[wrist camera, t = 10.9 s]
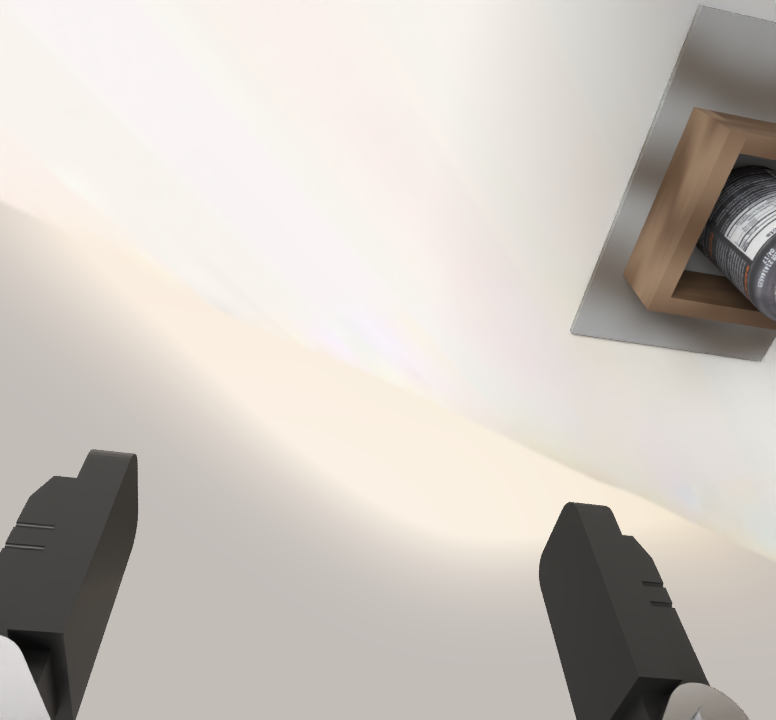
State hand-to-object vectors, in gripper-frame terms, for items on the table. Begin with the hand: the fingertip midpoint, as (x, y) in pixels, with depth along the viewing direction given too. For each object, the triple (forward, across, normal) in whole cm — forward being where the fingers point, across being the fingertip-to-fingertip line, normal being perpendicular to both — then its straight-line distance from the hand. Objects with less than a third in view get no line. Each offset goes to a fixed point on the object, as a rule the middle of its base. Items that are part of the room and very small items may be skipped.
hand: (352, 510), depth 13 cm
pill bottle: (+30, -24, +2) cm, 38 cm away
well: (+30, -24, +2) cm, 38 cm away
